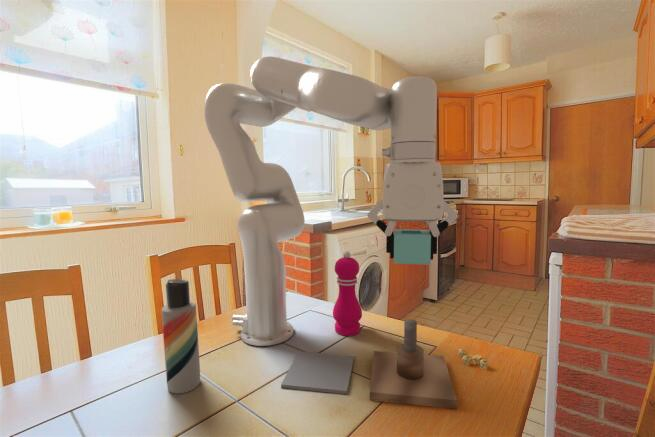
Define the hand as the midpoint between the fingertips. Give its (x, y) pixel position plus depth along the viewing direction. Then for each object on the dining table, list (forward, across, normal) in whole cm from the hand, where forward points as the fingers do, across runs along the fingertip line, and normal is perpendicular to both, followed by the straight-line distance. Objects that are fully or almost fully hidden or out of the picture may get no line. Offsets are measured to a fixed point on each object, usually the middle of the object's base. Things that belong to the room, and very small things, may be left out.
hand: (410, 256), depth 61 cm
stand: (+23, 0, 0) cm, 23 cm away
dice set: (+24, +13, +8) cm, 29 cm away
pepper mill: (+24, -14, +19) cm, 33 cm away
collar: (+1, 0, 0) cm, 1 cm away
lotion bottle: (+24, -41, -8) cm, 48 cm away
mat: (+23, -17, 0) cm, 29 cm away
